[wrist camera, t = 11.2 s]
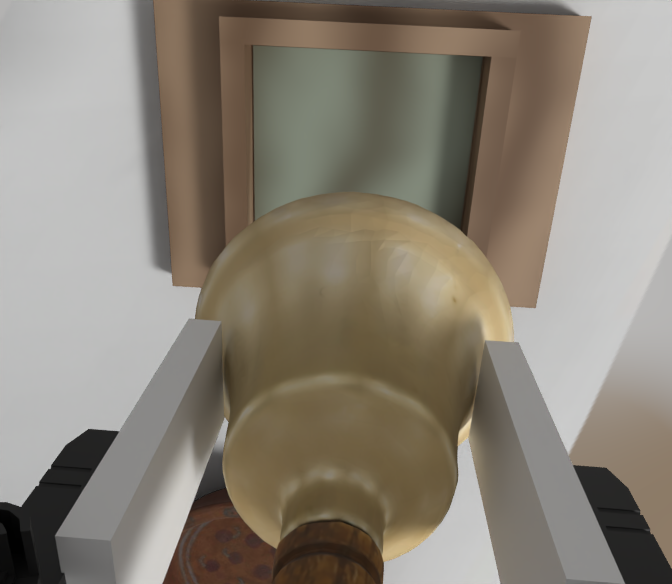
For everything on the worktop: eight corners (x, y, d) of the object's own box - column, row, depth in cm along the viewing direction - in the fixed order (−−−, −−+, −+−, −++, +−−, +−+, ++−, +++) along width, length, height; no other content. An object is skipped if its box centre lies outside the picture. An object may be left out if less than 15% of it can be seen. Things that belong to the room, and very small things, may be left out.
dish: (97, 575, 51) (70, 630, 46) (247, 398, 43) (232, 443, 38) (271, 670, 54) (262, 730, 50) (438, 522, 46) (446, 577, 42)
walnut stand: (179, 276, 39) (162, 299, 36) (162, -4, 33) (139, -6, 29) (529, 297, 38) (544, 322, 35) (582, 16, 32) (605, 16, 29)
